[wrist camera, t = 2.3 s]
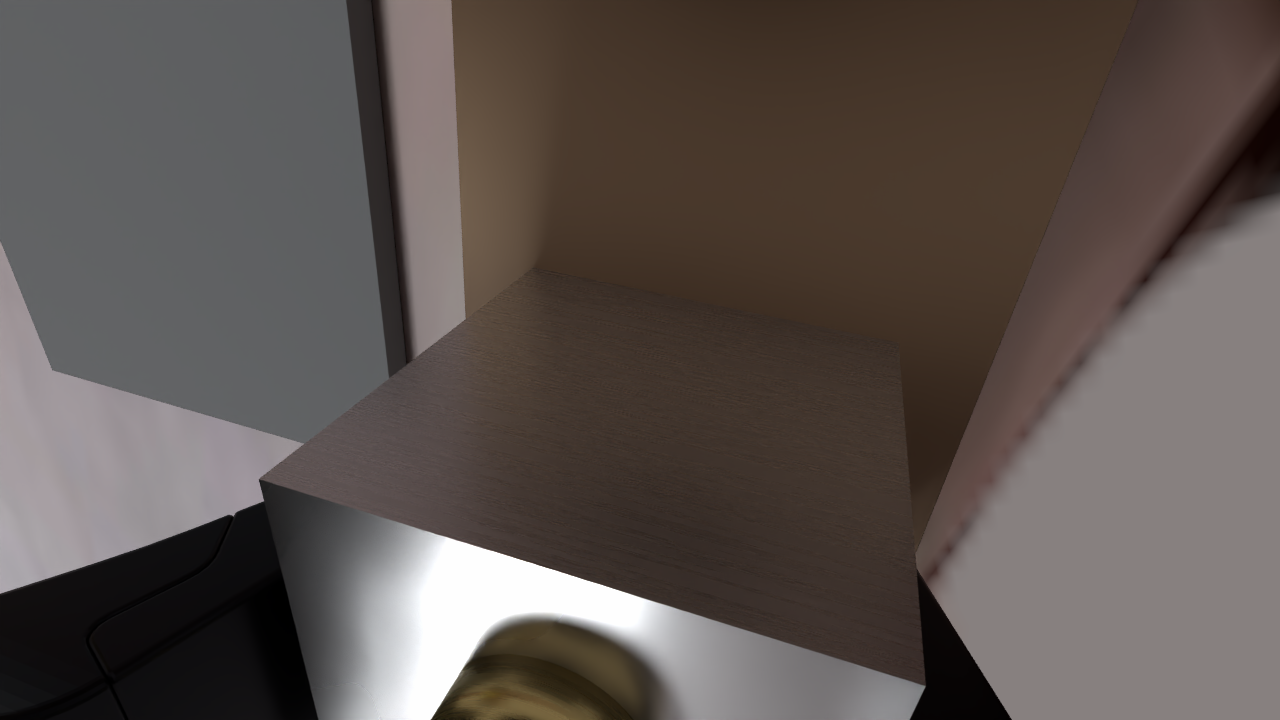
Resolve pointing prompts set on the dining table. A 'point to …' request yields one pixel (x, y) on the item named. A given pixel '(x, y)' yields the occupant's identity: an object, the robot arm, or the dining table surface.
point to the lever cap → (610, 521)
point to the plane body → (786, 164)
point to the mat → (203, 202)
